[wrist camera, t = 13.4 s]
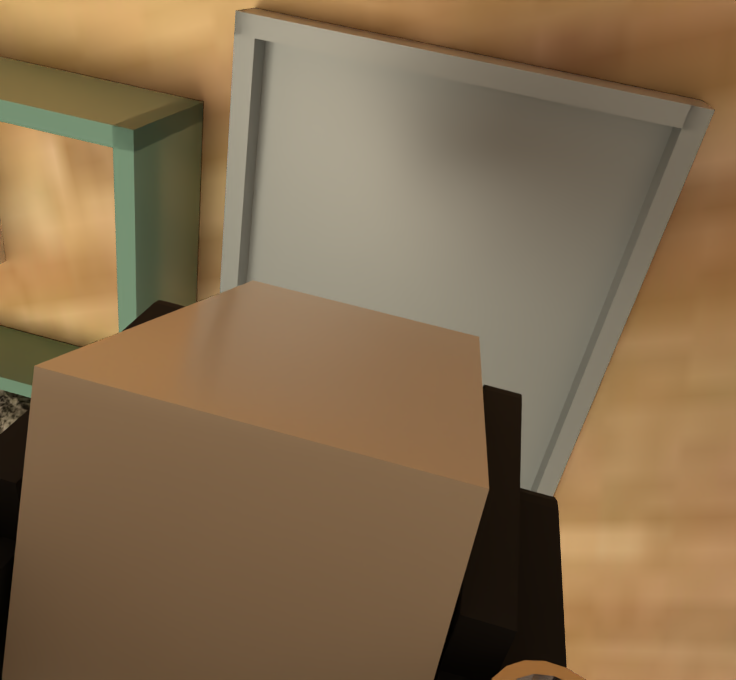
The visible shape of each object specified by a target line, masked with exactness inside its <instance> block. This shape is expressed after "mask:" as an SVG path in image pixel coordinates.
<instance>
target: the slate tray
mask: <svg viewBox="0 0 736 680" xmlns="http://www.w3.org/2000/svg"><path fill="white" fill-rule="evenodd" d="M714 111H715V110H714V109H713V108H711V107H710V106H709V105H708V104H706V103H705V102H704V101H702V100H698V99H693V98H688V97H684V96H679V95H674V94H669V93H664V92H659V91H655V90H650V89H645V88H640V87H635V86H630V85H626V84H621V83H616V82H611V81H606V80H601V79H597V78H592V77H587V76H582V75H577V74H572V73H568V72H563V71H558V70H553V69H548V68H543V67H539V66H534V65H529V64H524V63H519V62H514V61H510V60H505V59H500V58H495V57H490V56H485V55H480V54H476V53H471V52H466V51H461V50H456V49H451V48H447V47H442V46H437V45H432V44H427V43H422V42H418V41H413V40H408V39H403V38H398V37H393V36H389V35H384V34H379V33H374V32H369V31H364V30H360V29H355V28H350V27H345V26H340V25H335V24H331V23H326V22H321V21H316V20H311V19H306V18H302V17H297V16H292V15H287V14H282V13H277V12H273V11H268V10H263V9H258V8H250V9H243V10H236V15H235V32H234V50H233V68H232V86H231V104H230V122H229V139H228V157H227V175H226V193H225V211H224V229H223V246H222V264H221V282H220V293H222V292H224V291H227V290H230V289H232V288H235V287H237V286H240V285H242V284H245V283H247V282H250V281H253V280H254V281H258V282H262V283H266V284H270V285H274V286H278V287H282V288H286V289H290V290H294V291H298V292H302V293H306V294H310V295H314V296H318V297H322V298H326V299H330V300H334V301H338V302H342V303H346V304H350V305H354V306H358V307H362V308H366V309H370V310H374V311H378V312H382V313H386V314H390V315H394V316H398V317H402V318H406V319H410V320H414V321H418V322H422V323H426V324H430V325H434V326H438V327H442V328H446V329H450V330H454V331H458V332H462V333H466V334H470V335H474V336H478V337H479V342H480V357H481V372H482V387H483V385H484V384H485V385H489V386H492V387H496V388H500V389H504V390H508V391H512V392H515V393H519V394H521V395H522V424H521V472H520V488H523V489H527V490H530V491H534V492H538V493H541V494H545V495H548V496H552V497H553V495H554V493H555V490H556V488H557V486H558V483H559V481H560V478H561V476H562V474H563V471H564V469H565V466H566V464H567V462H568V459H569V457H570V455H571V452H572V450H573V447H574V445H575V443H576V440H577V438H578V435H579V433H580V431H581V428H582V426H583V424H584V421H585V419H586V416H587V414H588V412H589V409H590V407H591V404H592V402H593V400H594V397H595V395H596V393H597V390H598V388H599V385H600V383H601V381H602V378H603V376H604V373H605V371H606V369H607V366H608V364H609V362H610V359H611V357H612V354H613V352H614V350H615V347H616V345H617V342H618V340H619V338H620V335H621V333H622V331H623V328H624V326H625V323H626V321H627V319H628V316H629V314H630V311H631V309H632V307H633V304H634V302H635V300H636V297H637V295H638V292H639V290H640V288H641V285H642V283H643V280H644V278H645V276H646V273H647V271H648V269H649V266H650V264H651V261H652V259H653V257H654V254H655V252H656V249H657V247H658V245H659V242H660V240H661V238H662V235H663V233H664V230H665V228H666V226H667V223H668V221H669V218H670V216H671V214H672V211H673V209H674V207H675V204H676V202H677V199H678V197H679V195H680V192H681V190H682V187H683V185H684V183H685V180H686V178H687V176H688V173H689V171H690V168H691V166H692V164H693V161H694V159H695V157H696V154H697V152H698V149H699V147H700V145H701V142H702V140H703V137H704V135H705V133H706V130H707V128H708V126H709V123H710V121H711V118H712V116H713V114H714Z"/></svg>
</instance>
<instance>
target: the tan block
mask: <svg viewBox="0 0 736 680" xmlns="http://www.w3.org/2000/svg"><path fill="white" fill-rule="evenodd" d="M488 491H489V478H488V463H487V448H486V433H485V418H484V403H483V387H482V372H481V357H480V342H479V337H478V336H474V335H470V334H466V333H462V332H458V331H454V330H450V329H446V328H442V327H438V326H434V325H430V324H426V323H422V322H418V321H414V320H410V319H406V318H402V317H398V316H394V315H390V314H386V313H382V312H378V311H374V310H370V309H366V308H362V307H358V306H354V305H350V304H346V303H342V302H338V301H334V300H330V299H326V298H322V297H318V296H314V295H310V294H306V293H302V292H298V291H294V290H290V289H286V288H282V287H278V286H274V285H270V284H266V283H262V282H258V281H254V280H253V281H250V282H247V283H245V284H242V285H240V286H237V287H235V288H232V289H230V290H227V291H224V292H222V293H219V294H217V295H214V296H212V297H209V298H206V299H204V300H201V301H199V302H196V303H194V304H191V305H189V306H186V307H183V308H181V309H178V310H176V311H173V312H171V313H168V314H166V315H163V316H160V317H158V318H155V319H153V320H150V321H148V322H145V323H143V324H140V325H137V326H135V327H132V328H130V329H127V330H125V331H122V332H119V333H117V334H114V335H112V336H109V337H107V338H104V339H102V340H99V341H96V342H94V343H91V344H89V345H86V346H84V347H81V348H79V349H76V350H73V351H71V352H68V353H66V354H63V355H61V356H58V357H56V358H53V359H50V360H48V361H45V362H43V363H40V364H38V365H35V366H34V374H33V383H32V393H31V402H30V412H29V422H28V431H27V441H26V451H25V460H24V470H23V480H22V489H21V499H20V508H19V518H18V528H17V537H16V547H15V557H14V566H13V576H12V586H11V595H10V605H9V614H8V624H7V634H6V643H5V653H4V663H3V672H2V680H434V677H435V673H436V670H437V667H438V663H439V660H440V656H441V653H442V649H443V646H444V643H445V639H446V636H447V632H448V629H449V625H450V622H451V618H452V615H453V612H454V608H455V605H456V601H457V598H458V594H459V591H460V588H461V584H462V581H463V577H464V574H465V570H466V567H467V564H468V560H469V557H470V553H471V550H472V546H473V543H474V539H475V536H476V533H477V529H478V526H479V522H480V519H481V515H482V512H483V509H484V505H485V502H486V498H487V495H488Z"/></svg>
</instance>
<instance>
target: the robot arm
mask: <svg viewBox="0 0 736 680" xmlns="http://www.w3.org/2000/svg"><path fill="white" fill-rule="evenodd" d="M183 307H186V306H182V305H178V304H175V303H171V302H167V301H163V300H158V301H156V302H154V303H153V304H152V305H151V306H150V307H149V308H148V309H146V310H145V311H144V312H143V313H142V314H141V315H140V316H138V317H137V318H136V319H135V320H134V321H133V322H132V323H131V324H129V325H128V326H127V327H126V328H125V329H124V330H123V331H125V330H127V329H130V328H132V327H135V326H137V325H140V324H143V323H145V322H148V321H150V320H153V319H155V318H158V317H160V316H163V315H166V314H168V313H171V312H173V311H176V310H178V309H181V308H183ZM483 403H484V418H485V433H486V448H487V463H488V478H489V491H488V495H487V498H486V502H485V505H484V509H483V512H482V515H481V519H480V522H479V526H478V529H477V533H476V536H475V539H474V543H473V546H472V550H471V553H470V557H469V560H468V564H467V567H466V570H465V574H464V577H463V581H462V584H461V588H460V591H459V594H458V598H457V601H456V605H455V608H454V612H453V615H452V618H451V622H450V625H449V629H448V632H447V636H446V639H445V643H444V646H443V649H442V653H441V656H440V660H439V663H438V667H437V670H436V673H435V677H434V680H586V679H584V678H583V677H581V676H579V675H578V674H576V673H574V672H573V671H571V670H569V669H568V668H566V648H565V628H564V609H563V589H562V570H561V550H560V531H559V511H558V503H557V500H556V499H555V497H552V496H548V495H545V494H541V493H538V492H534V491H530V490H527V489H523V488H520V472H521V424H522V395H521V394H519V393H515V392H512V391H508V390H504V389H500V388H496V387H492V386H489V385H485V384H484V385H483ZM29 412H30V409H28V410H27V411H26V412H25V413H24V414H23V415H22V416H20V417H19V418H18V419H17V420H16V421H15V422H14V423H12V424H11V425H10V426H9V427H8V428H7V429H6V430H4V431H3V432H2V433H1V434H0V680H2V672H3V663H4V653H5V643H6V634H7V624H8V614H9V605H10V595H11V586H12V576H13V566H14V557H15V547H16V537H17V528H18V518H19V508H20V499H21V489H22V480H23V470H24V460H25V451H26V441H27V431H28V422H29Z"/></svg>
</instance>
